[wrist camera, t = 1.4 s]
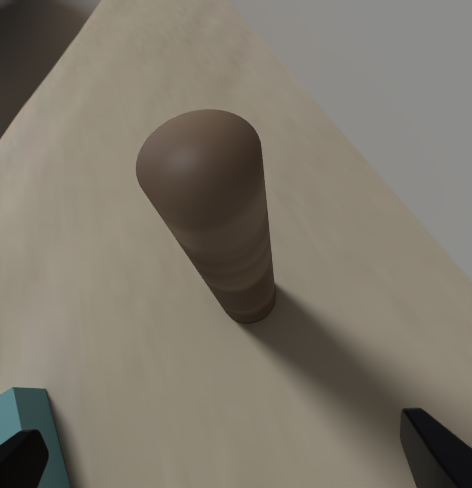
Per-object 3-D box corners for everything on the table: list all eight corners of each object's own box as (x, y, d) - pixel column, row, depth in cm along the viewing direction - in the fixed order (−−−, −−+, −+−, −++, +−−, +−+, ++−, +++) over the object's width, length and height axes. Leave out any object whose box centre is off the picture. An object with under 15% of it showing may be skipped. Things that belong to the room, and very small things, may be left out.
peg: (286, 303, 23) (287, 165, 9) (238, 334, 22) (167, 234, 9) (256, 260, 24) (221, 92, 11) (211, 287, 24) (118, 146, 11)
